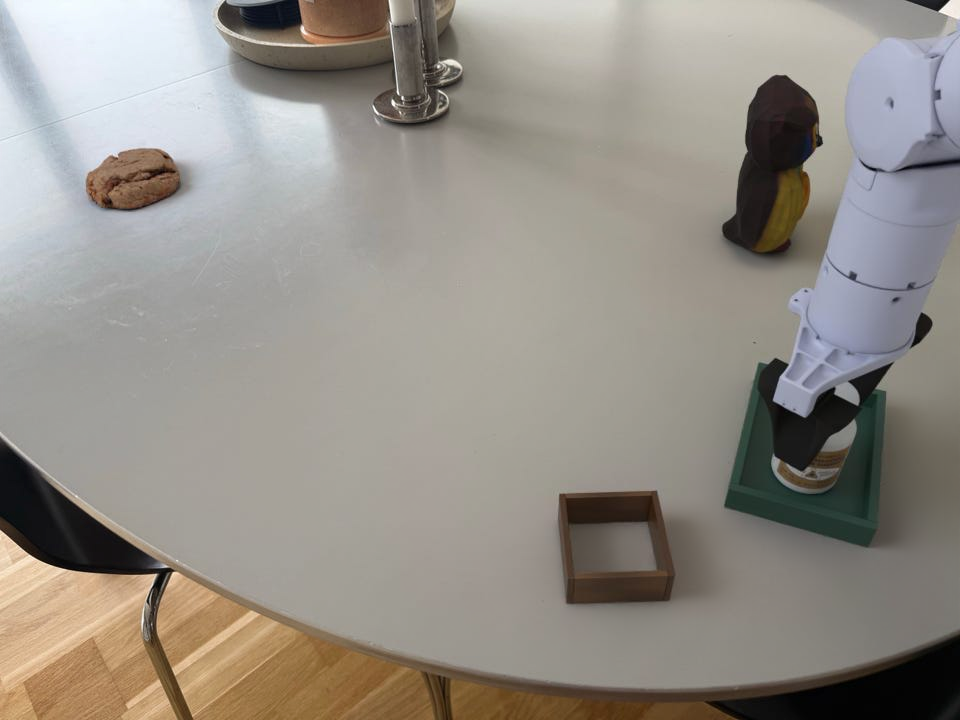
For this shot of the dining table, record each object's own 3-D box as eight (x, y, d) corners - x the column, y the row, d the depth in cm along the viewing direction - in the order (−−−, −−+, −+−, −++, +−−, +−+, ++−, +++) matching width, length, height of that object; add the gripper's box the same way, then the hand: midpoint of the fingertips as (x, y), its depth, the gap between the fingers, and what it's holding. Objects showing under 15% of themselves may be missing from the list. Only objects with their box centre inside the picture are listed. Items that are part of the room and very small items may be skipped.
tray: (868, 548, 53) (877, 529, 51) (723, 506, 55) (728, 488, 54) (878, 409, 62) (886, 390, 60) (753, 380, 64) (758, 361, 63)
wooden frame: (652, 516, 55) (657, 490, 53) (669, 601, 50) (675, 575, 49) (557, 519, 55) (559, 493, 53) (566, 603, 51) (567, 578, 49)
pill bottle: (773, 492, 56) (799, 414, 50) (767, 444, 59) (791, 366, 54) (841, 500, 55) (874, 421, 50) (831, 451, 58) (862, 372, 53)
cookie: (184, 157, 95) (177, 133, 92) (180, 204, 87) (172, 179, 85) (95, 169, 93) (85, 145, 91) (83, 218, 85) (72, 193, 83)
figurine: (795, 276, 74) (838, 122, 64) (716, 266, 75) (746, 113, 65) (795, 218, 81) (835, 71, 71) (723, 210, 82) (751, 64, 72)
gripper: (870, 182, 50) (816, 346, 60) (745, 290, 43) (706, 458, 52) (989, 224, 47) (913, 392, 56) (875, 349, 39) (808, 520, 48)
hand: (819, 428), depth 54 cm, fingers open, 7 cm apart
